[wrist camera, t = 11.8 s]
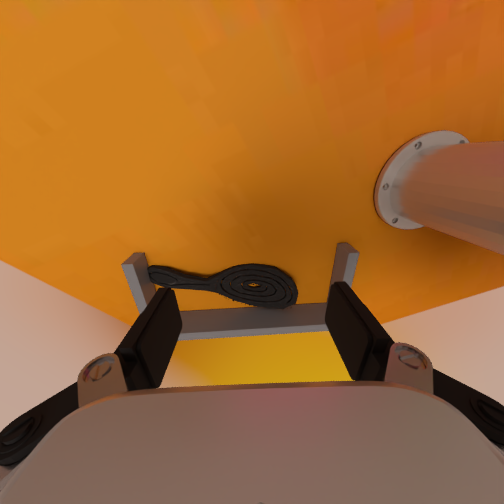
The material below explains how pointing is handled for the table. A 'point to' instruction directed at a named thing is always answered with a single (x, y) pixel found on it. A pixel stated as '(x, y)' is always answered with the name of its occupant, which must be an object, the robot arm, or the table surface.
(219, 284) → the hairbrush
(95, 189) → the table surface
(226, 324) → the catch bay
